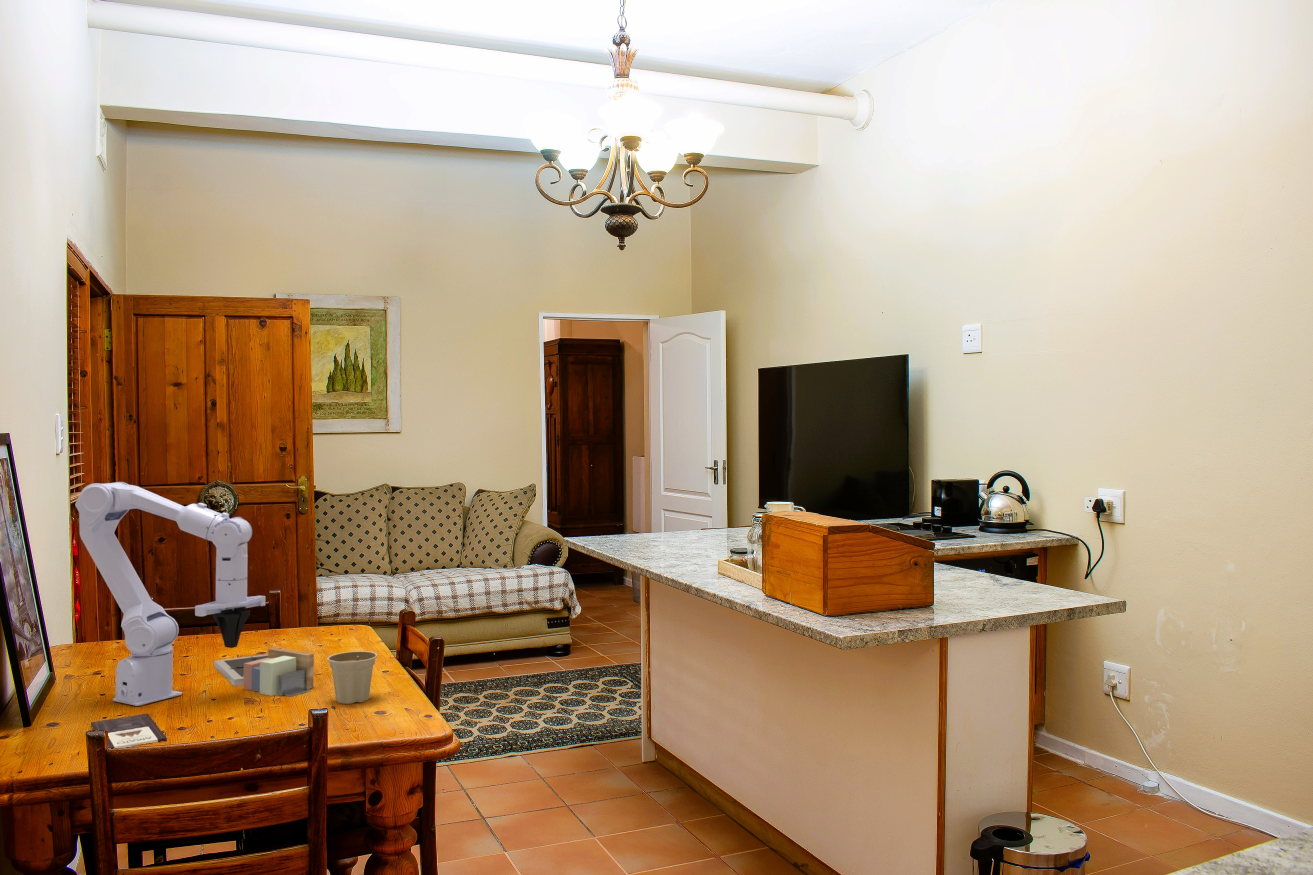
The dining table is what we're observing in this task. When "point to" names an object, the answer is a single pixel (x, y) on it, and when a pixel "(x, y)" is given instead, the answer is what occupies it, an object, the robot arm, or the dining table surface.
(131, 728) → the chocolate bar
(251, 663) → the shelved books
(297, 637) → the dining table surface
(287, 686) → the bookend
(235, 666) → the picture frame
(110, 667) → the dining table surface
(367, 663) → the flower pot
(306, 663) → the shelf wall
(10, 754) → the dining table surface
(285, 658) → the beige rectangular block
